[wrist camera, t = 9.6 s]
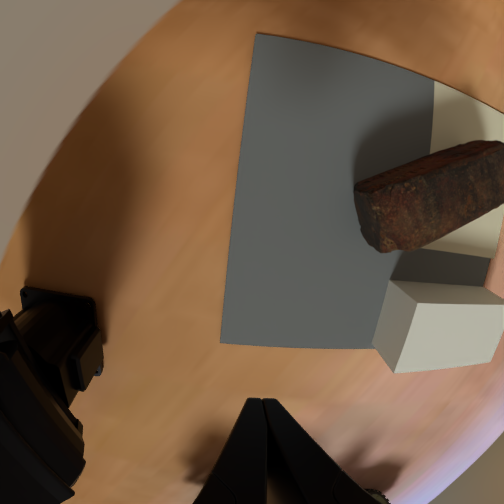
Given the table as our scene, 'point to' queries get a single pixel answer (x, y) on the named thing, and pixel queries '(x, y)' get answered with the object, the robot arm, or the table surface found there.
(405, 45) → the table surface
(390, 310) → the block
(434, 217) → the brick
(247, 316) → the grey mat
